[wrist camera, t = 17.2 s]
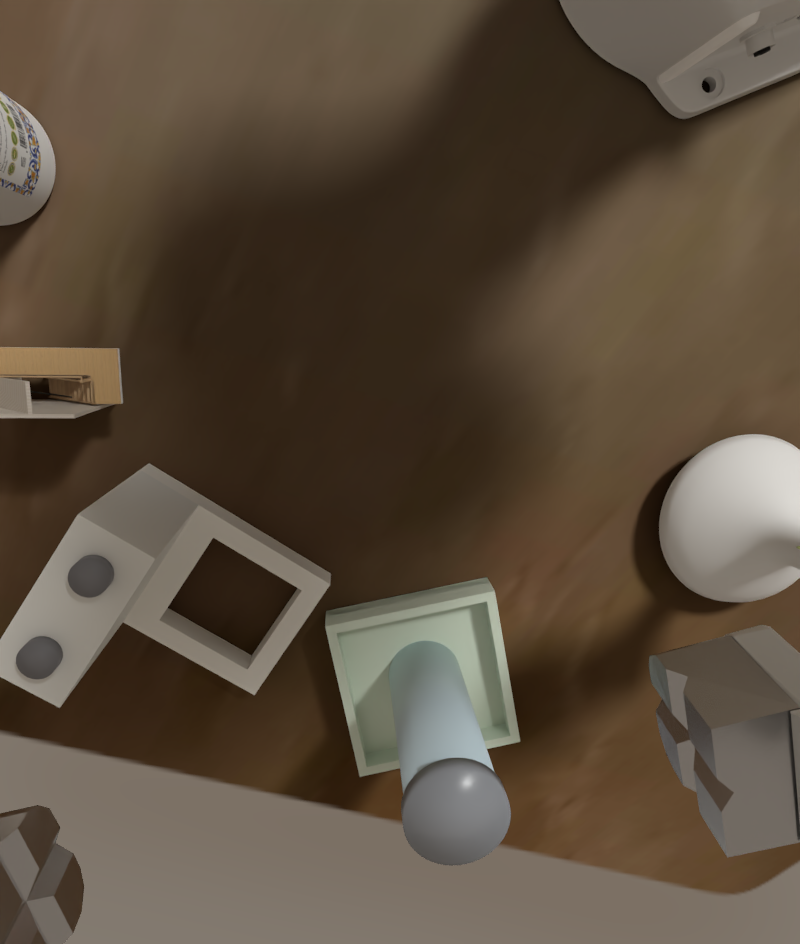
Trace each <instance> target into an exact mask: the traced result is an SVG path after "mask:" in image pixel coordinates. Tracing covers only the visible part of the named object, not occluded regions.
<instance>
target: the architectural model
mask: <svg viewBox="0 0 800 944" xmlns="http://www.w3.org/2000/svg"><path fill="white" fill-rule="evenodd" d="M84 376H88V377H89V378H86V377H84ZM22 378H48V379H49V390H50V393H44V392H37V391H30V382H29V381H23V380H22ZM30 392H33V393H41V394H48V395H50V397H48V398H55V399H31V393H30ZM122 403H123V396H122V381H121V366H120V351H119V348H36V347H0V418H77V417H80V416H83V415H85V414H88V413H91V412H94V411H97V410H100V409H102V408H105V407H108V406H111V405H114V404H122Z"/></svg>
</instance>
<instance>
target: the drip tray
mask: <svg viewBox="0 0 800 944" xmlns="http://www.w3.org/2000/svg"><path fill="white" fill-rule="evenodd" d="M325 629H326V633H327V637H328V642H329V646H330V650H331V655H332V659H333V663H334V668H335V672H336V676H337V681H338V685H339V689H340V694H341V698H342V702H343V707H344V711H345V715H346V720H347V724H348V728H349V733H350V737H351V741H352V746H353V750H354V754H355V759H356V763H357V767H358V772H359V776H360V777H362V776H366V775H371V774H376V773H380V772H385V771H389V770H394V769H398V768H400V763H399V755H398V747H397V739H396V731H395V723H394V715H393V707H392V699H391V691H390V683H389V668H390V664H391V662H392V660H393V658H394V657H395V655H396V654H397V653H398V652H399V651H400V650H401V649H402V648H404V647H405V646H407V645H409V644H411V643H414V642H418V641H434V642H437V643H440V644H442V645H444V646H446V647H447V648H449V649H450V650H451V651H452V653H453V654H454V655H455V657H456V658H457V661H458V664H459V667H460V670H461V673H462V676H463V679H464V682H465V685H466V688H467V691H468V694H469V697H470V700H471V703H472V706H473V709H474V712H475V715H476V718H477V721H478V724H479V727H480V730H481V733H482V736H483V739H484V742H485V745H486V748H487V749H490V748H494V747H499V746H503V745H508V744H513V743H517V742H520V736H519V731H518V725H517V719H516V713H515V707H514V701H513V695H512V690H511V684H510V678H509V672H508V666H507V660H506V654H505V649H504V643H503V637H502V631H501V625H500V619H499V613H498V608H497V602H496V596H495V591H494V589H493V587H492V585H491V584H490V582H489V580H488V578H487V577H485V578H480V579H476V580H471V581H466V582H461V583H457V584H452V585H447V586H442V587H437V588H433V589H428V590H423V591H418V592H414V593H409V594H404V595H399V596H395V597H390V598H385V599H380V600H376V601H371V602H366V603H361V604H356V605H352V606H347V607H342V608H337V609H333V610H328V611H326V620H325Z"/></svg>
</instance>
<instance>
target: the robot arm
mask: <svg viewBox="0 0 800 944" xmlns="http://www.w3.org/2000/svg"><path fill="white" fill-rule="evenodd" d="M559 1H560V4H561V6H562V8H563V10H564V12H565V14H566V16H567V18H568V20H569V21H570V23H571V24H572V26H573V28H574V29H575V30H576V32H577V33H578V34H579V36H580V37H581V38H582V39H583V40H584V42H585V43H586V44H587V45H588V46H589V47H590V48H591V49H592V50H593V51H594V52H596V53H597V54H598V55H599V56H600V57H602V58H603V59H605V60H606V61H607V62H609V63H611V64H612V65H614V66H616V67H617V68H619V69H621V70H623V71H625V72H627V73H629V74H631V75H633V76H635V77H636V78H638V79H639V80H641V81H642V82H643V83H645V84H646V85H647V87H648V88H649V89H650V91H651V92H652V93H653V95H654V96H655V97H656V99H657V100H658V101H659V102H660V104H661V105H662V106H663V107H664V108H665V109H666V110H667V111H668V112H669V113H670V114H671V115H673V116H675V117H677V118H680V119H687V118H691V117H694V116H696V115H698V114H701V113H703V112H706V111H708V110H711V109H713V108H715V107H718V106H720V105H723V104H725V103H728V102H730V101H732V100H735V99H737V98H740V97H742V96H745V95H747V94H749V93H752V92H754V91H757V90H759V89H761V88H764V87H766V86H769V85H771V84H774V83H776V82H778V81H781V80H783V79H786V78H788V77H791V76H793V75H795V74H798V73H800V0H559ZM703 81H706V82H708V84H709V86H710V91H709V93H706V92H705V91H704V90H703V89H702V82H703ZM649 670H650V677H651V683H652V684H653V686H654V687H655V689H656V690H657V692H658V693H659V695H660V696H661V698H662V700H661V702H660V704H659V706H658V708H657V710H656V715H657V721H658V726H659V731H660V735H661V738H662V741H663V744H664V747H665V751H666V754H667V756H668V758H669V760H670V762H671V764H672V767H673V769H674V771H675V772H676V774H677V776H678V777H679V779H680V781H681V783H682V784H683V786H685V787H687V788H689V789H691V790H693V791H695V792H697V796H698V803H699V810H700V814H701V815H702V817H703V819H704V820H705V822H706V823H707V825H708V827H709V828H710V830H711V831H712V833H713V835H714V836H715V838H716V839H717V841H718V843H719V844H720V846H721V848H722V849H723V851H724V852H725V854H726V856H727V857H732V856H737V855H741V854H746V853H751V852H756V851H761V850H765V849H770V848H775V847H780V846H784V845H789V844H794V843H799V842H800V653H799V652H798V651H797V650H795V649H794V648H793V647H792V646H791V645H790V644H789V643H788V642H787V641H785V640H784V639H783V638H782V637H781V636H780V635H779V634H778V633H776V632H775V631H774V630H773V629H772V628H771V627H768V626H765V625H759V626H755V627H752V628H748V629H745V630H741V631H737V632H734V633H730V634H727V635H725V636H724V637H720V638H716V639H712V640H708V641H704V642H701V643H697V644H693V645H689V646H685V647H681V648H677V649H673V650H669V651H665V652H661V653H657V654H653V655H650V656H649ZM59 830H60V826H59V825H58V823H57V821H56V819H55V818H54V816H53V814H52V812H51V810H50V809H49V808H46V807H42V806H38V805H37V806H32V807H27V808H23V809H19V810H14V811H9V812H5V813H1V814H0V944H63V943H64V942H65V941H66V940H67V939H68V938H69V937H70V936H71V935H72V934H73V932H74V929H75V927H76V924H77V922H78V919H79V917H80V914H81V911H82V902H83V891H84V884H83V879H82V874H81V869H80V866H79V864H78V862H77V860H76V858H75V856H74V854H73V853H71V852H70V851H68V850H66V849H65V848H63V847H61V846H60V845H58V844H56V840H57V836H58V833H59Z"/></svg>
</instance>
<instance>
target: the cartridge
mask: <svg viewBox="0 0 800 944" xmlns="http://www.w3.org/2000/svg"><path fill="white" fill-rule="evenodd" d="M389 683H390V691H391V699H392V707H393V715H394V723H395V731H396V739H397V747H398V755H399V763H400V771H401V779H402V787H403V797H402V803H401V812H402V821H403V828H404V832H405V836H406V838H407V841H408V842H409V844H410V845H411V847H412V848H413V849H414V850H415V851H416V852H417V853H418V854H419V855H421V856H422V857H424V858H425V859H427V860H429V861H432V862H435V863H438V864H443V865H462V864H467V863H471V862H474V861H476V860H479V859H481V858H482V857H485V856H486V855H487V854H489V853H490V852H492V851H493V850H494V849H495V848H496V847H497V846H498V845H499V844H500V842H501V841H502V840H503V838H504V836H505V835H506V833H507V830H508V827H509V824H510V816H511V812H510V805H509V801H508V798H507V795H506V792H505V789H504V787H503V784H502V782H501V780H500V779H499V777H498V776H497V775H496V773H495V772H494V769H493V766H492V763H491V760H490V757H489V754H488V751H487V748H486V745H485V742H484V739H483V736H482V733H481V730H480V727H479V724H478V721H477V718H476V715H475V712H474V709H473V706H472V703H471V700H470V697H469V694H468V691H467V688H466V685H465V682H464V679H463V676H462V673H461V670H460V667H459V664H458V661H457V658H456V657H455V655H454V654H453V653H452V651H451V650H450V649H449V648H447V647H446V646H444V645H442V644H440V643H437V642H434V641H418V642H414V643H411V644H409V645H407V646H405V647H404V648H402V649H401V650H400V651H399V652H398V653H397V654H396V655H395V657H394V658H393V660H392V662H391V664H390V668H389Z"/></svg>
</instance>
